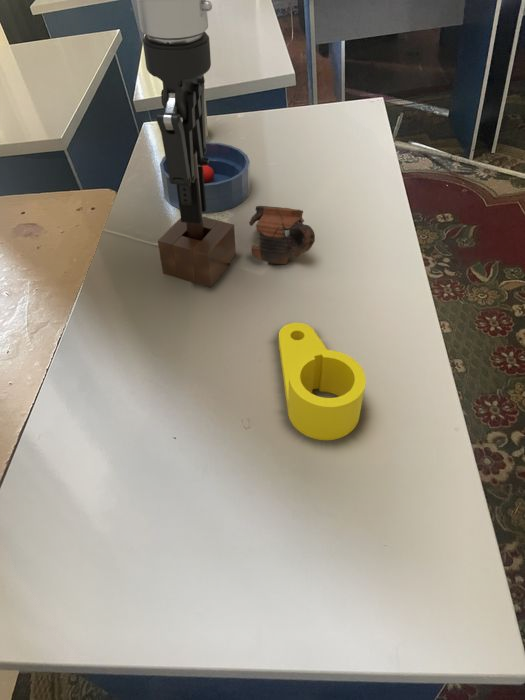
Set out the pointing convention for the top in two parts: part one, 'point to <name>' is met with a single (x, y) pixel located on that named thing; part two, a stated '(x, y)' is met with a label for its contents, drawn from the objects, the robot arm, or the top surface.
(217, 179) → the bowl
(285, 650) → the top surface
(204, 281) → the holder
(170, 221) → the top surface
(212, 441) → the top surface
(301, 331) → the crank
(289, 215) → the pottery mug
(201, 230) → the stick
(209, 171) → the ball
